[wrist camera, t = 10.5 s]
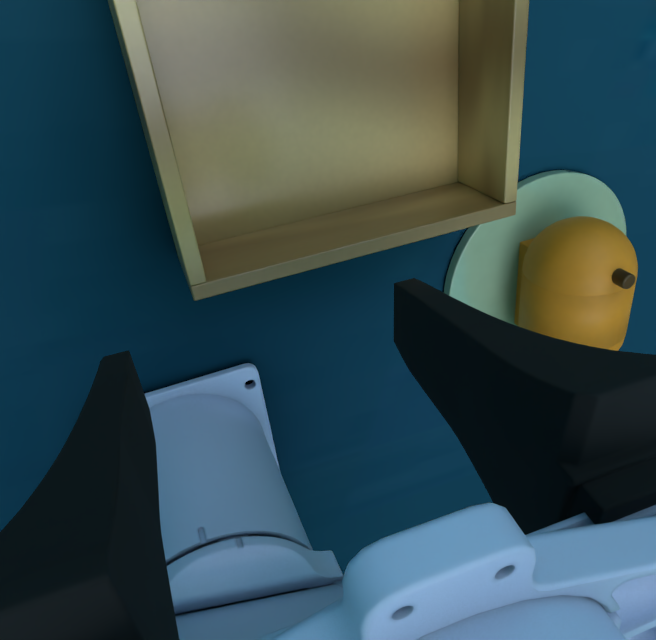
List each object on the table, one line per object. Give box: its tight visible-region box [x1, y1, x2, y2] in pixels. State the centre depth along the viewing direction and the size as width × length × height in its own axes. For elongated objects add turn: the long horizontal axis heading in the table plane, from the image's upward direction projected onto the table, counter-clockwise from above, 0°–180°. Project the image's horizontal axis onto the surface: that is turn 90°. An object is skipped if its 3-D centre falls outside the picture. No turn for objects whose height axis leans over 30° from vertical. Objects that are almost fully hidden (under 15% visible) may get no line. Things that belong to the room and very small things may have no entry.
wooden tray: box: [108, 0, 529, 301], centre depth 20 cm, size 13×13×4 cm
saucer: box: [444, 170, 626, 326], centre depth 30 cm, size 11×11×1 cm
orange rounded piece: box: [514, 216, 638, 351], centre depth 28 cm, size 8×5×6 cm, turn 7°
